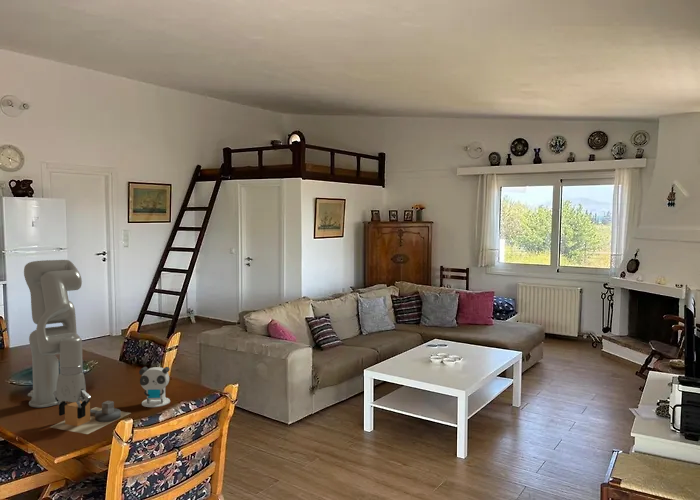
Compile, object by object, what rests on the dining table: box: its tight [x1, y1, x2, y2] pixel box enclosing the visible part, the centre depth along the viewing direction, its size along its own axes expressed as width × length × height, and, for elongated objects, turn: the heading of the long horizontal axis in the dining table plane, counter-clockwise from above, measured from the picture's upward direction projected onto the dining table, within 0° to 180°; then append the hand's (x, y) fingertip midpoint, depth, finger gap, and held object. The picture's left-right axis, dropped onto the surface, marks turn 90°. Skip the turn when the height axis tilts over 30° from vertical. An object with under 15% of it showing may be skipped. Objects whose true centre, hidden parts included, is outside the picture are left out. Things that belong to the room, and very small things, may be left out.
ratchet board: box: [50, 400, 132, 435], centre depth 203 cm, size 18×22×8 cm
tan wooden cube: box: [64, 401, 91, 426], centre depth 200 cm, size 6×6×7 cm
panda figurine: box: [138, 366, 171, 408], centre depth 225 cm, size 12×11×15 cm
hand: (72, 415), depth 199 cm, fingers open, 8 cm apart
